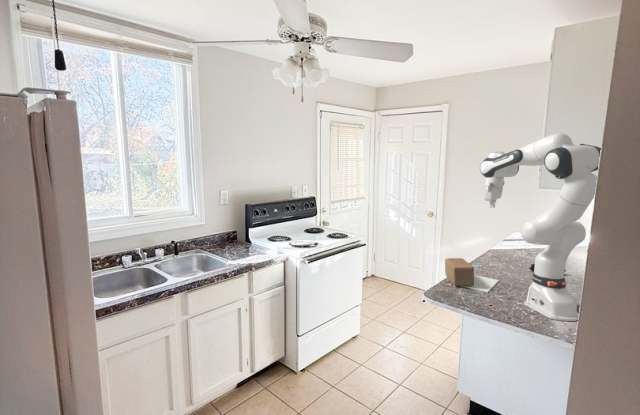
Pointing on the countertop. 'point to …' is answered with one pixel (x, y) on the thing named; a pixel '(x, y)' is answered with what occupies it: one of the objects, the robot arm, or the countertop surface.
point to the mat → (482, 283)
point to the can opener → (534, 266)
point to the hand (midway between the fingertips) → (492, 207)
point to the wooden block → (459, 272)
